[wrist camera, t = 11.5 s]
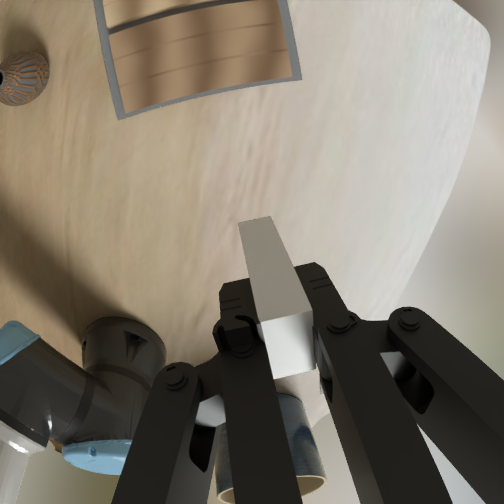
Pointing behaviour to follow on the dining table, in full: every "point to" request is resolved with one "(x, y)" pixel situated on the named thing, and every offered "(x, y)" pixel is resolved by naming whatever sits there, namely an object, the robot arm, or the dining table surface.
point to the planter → (300, 448)
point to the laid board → (199, 52)
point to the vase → (22, 77)
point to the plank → (140, 9)
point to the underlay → (106, 31)
